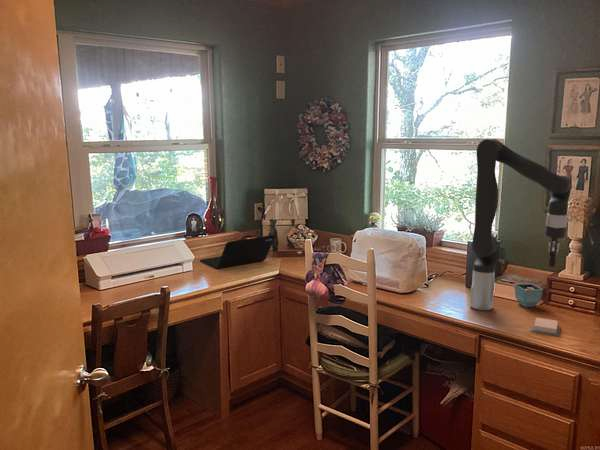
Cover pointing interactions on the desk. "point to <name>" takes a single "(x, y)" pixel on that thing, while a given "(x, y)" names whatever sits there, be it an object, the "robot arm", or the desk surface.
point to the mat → (546, 332)
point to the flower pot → (527, 295)
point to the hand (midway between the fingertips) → (551, 266)
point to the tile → (545, 325)
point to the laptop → (242, 252)
